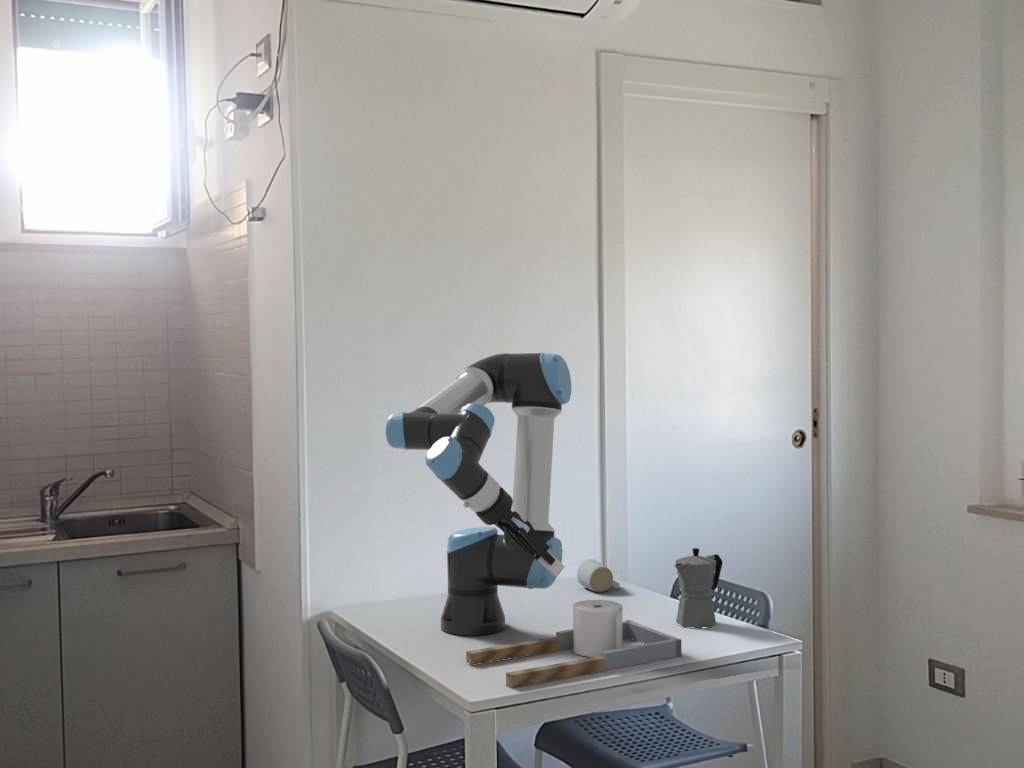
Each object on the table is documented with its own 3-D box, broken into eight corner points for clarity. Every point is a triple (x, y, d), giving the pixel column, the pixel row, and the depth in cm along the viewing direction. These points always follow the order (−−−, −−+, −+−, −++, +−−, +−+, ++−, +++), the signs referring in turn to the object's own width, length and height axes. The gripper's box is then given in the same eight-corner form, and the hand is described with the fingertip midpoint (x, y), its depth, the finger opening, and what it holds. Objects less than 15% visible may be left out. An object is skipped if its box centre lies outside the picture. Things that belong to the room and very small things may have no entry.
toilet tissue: (586, 641, 247) (586, 597, 246) (636, 649, 241) (636, 603, 240) (564, 654, 237) (564, 607, 237) (615, 662, 231) (615, 614, 231)
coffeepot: (691, 632, 253) (690, 554, 252) (661, 624, 261) (661, 548, 260) (736, 621, 263) (736, 546, 262) (706, 614, 270) (706, 540, 269)
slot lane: (511, 688, 215) (511, 675, 214) (466, 663, 231) (466, 651, 231) (605, 670, 225) (605, 658, 225) (556, 647, 242) (556, 636, 242)
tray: (605, 670, 225) (605, 653, 225) (556, 647, 242) (555, 632, 242) (681, 656, 235) (681, 639, 235) (629, 635, 252) (629, 620, 251)
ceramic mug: (590, 594, 291) (591, 565, 291) (576, 588, 299) (576, 560, 298) (625, 591, 295) (626, 562, 295) (610, 585, 303) (610, 557, 303)
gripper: (460, 509, 226) (532, 579, 235) (491, 518, 214) (565, 592, 224) (483, 480, 228) (553, 551, 237) (514, 489, 217) (586, 562, 226)
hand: (559, 571), depth 230 cm, fingers closed
